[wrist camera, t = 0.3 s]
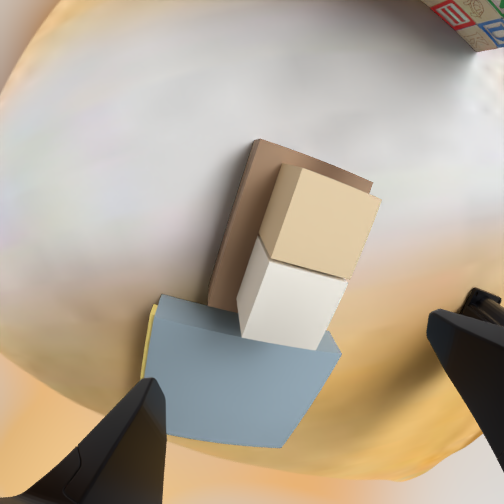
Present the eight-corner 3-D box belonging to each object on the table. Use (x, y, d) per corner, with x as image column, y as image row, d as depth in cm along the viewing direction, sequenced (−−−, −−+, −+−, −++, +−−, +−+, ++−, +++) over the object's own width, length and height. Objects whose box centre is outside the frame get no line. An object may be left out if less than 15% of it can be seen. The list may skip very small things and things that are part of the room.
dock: (329, 331, 23) (341, 354, 20) (275, 425, 26) (281, 448, 23) (157, 292, 20) (149, 315, 17) (139, 402, 24) (134, 426, 21)
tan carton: (347, 187, 16) (381, 199, 12) (323, 251, 17) (349, 279, 14) (282, 162, 15) (302, 167, 12) (258, 232, 17) (270, 258, 13)
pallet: (352, 176, 19) (372, 182, 16) (301, 306, 22) (312, 328, 19) (253, 140, 18) (260, 138, 15) (208, 284, 21) (207, 305, 18)
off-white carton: (321, 254, 17) (348, 283, 14) (297, 312, 19) (315, 350, 15) (257, 235, 17) (269, 262, 13) (236, 298, 18) (241, 337, 14)
